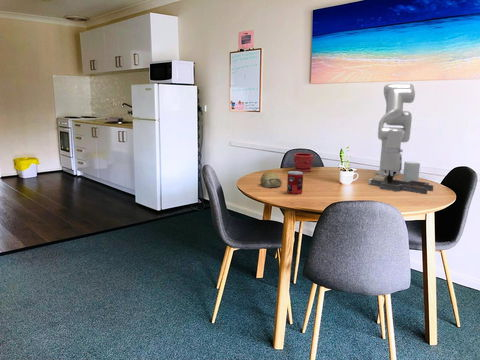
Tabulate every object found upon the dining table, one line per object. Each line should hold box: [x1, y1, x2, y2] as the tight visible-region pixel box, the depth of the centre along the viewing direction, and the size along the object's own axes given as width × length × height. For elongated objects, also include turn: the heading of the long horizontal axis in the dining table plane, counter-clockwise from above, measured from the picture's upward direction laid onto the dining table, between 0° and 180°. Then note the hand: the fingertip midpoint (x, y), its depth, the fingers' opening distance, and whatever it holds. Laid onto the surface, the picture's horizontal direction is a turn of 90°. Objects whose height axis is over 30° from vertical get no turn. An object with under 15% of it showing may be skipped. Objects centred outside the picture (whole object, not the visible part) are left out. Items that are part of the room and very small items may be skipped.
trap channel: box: [368, 177, 434, 195], centre depth 213 cm, size 22×32×3 cm
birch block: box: [373, 174, 388, 184], centre depth 220 cm, size 6×6×5 cm
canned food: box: [286, 170, 304, 195], centre depth 195 cm, size 8×8×11 cm
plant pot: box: [293, 152, 314, 173], centre depth 259 cm, size 13×13×12 cm
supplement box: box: [402, 160, 421, 182], centre depth 226 cm, size 7×7×13 cm
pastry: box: [259, 171, 283, 189], centre depth 212 cm, size 14×12×8 cm
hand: (389, 182), depth 216 cm, fingers closed
